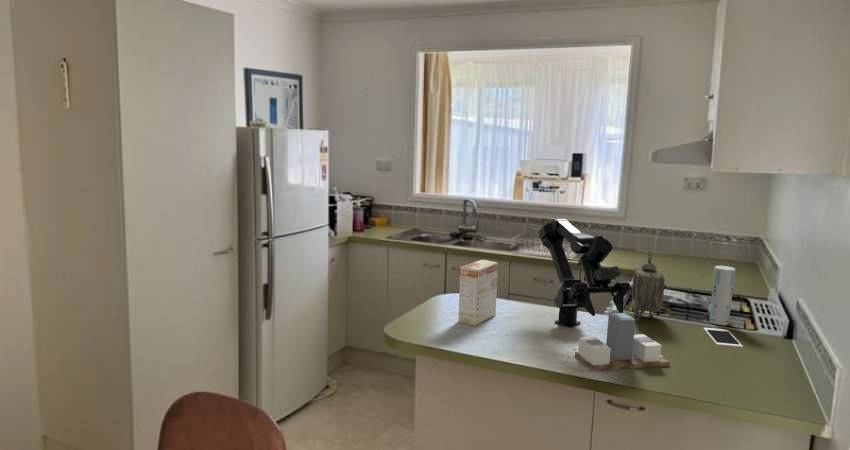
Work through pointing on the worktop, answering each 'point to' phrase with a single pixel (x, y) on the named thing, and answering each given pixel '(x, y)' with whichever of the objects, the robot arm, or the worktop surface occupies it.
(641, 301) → the mop head
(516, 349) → the worktop surface
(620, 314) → the block
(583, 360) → the rail board
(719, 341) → the cell phone
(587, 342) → the mounted modules
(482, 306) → the coffeecake box
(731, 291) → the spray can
